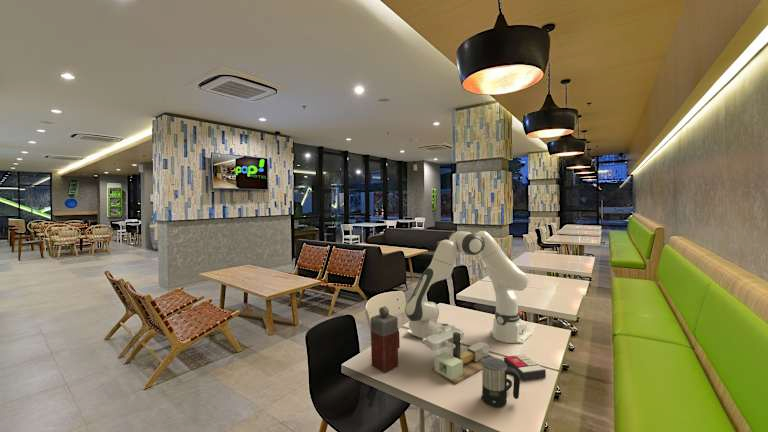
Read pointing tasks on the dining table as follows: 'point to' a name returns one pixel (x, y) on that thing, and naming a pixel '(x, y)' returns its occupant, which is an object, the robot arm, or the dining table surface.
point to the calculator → (525, 367)
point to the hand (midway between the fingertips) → (458, 345)
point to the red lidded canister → (384, 341)
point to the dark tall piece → (464, 356)
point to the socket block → (448, 365)
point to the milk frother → (497, 382)
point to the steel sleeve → (479, 351)
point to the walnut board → (465, 371)
